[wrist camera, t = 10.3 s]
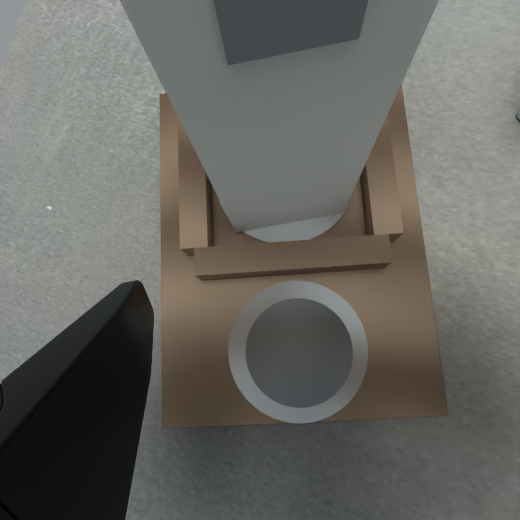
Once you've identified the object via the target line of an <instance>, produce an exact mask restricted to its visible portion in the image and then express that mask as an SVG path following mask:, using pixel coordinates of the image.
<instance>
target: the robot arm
mask: <svg viewBox="0 0 520 520" xmlns="http://www.w3.org/2000/svg"><path fill="white" fill-rule="evenodd" d="M153 327H154V312H153V308H152V305H151V303H150V301H149V298H148V296H147V293H146V291H145V288H144V286H143V284H142V283H141V282H140V281H138V280H136V281H130V282H125V283H122V284H120V285H119V286H118V287H117V288H115V289H114V290H113V291H112V292H110V293H109V294H108V295H107V296H105V297H104V298H103V299H102V300H101V301H99V302H98V303H97V304H96V305H94V306H93V307H92V308H91V309H89V310H88V311H87V312H86V313H85V314H83V315H82V316H81V317H80V318H78V319H77V320H76V321H75V322H73V323H72V324H71V325H70V326H69V327H67V328H66V329H65V330H64V331H62V332H61V333H60V334H59V335H57V336H56V337H55V338H54V339H53V340H51V341H50V342H49V343H48V344H46V345H45V346H44V347H43V348H42V349H40V350H39V351H38V352H37V353H35V354H34V355H33V356H32V357H30V358H29V359H28V360H27V361H26V362H24V363H23V364H22V365H21V366H19V367H18V368H17V369H16V370H14V371H13V372H12V373H11V374H10V375H8V376H7V377H6V378H5V379H3V380H2V382H1V384H0V520H125V517H126V511H127V506H128V500H129V495H130V489H131V483H132V478H133V472H134V467H135V461H136V455H137V450H138V444H139V439H140V433H141V427H142V422H143V416H144V411H145V405H146V399H147V394H148V388H149V382H150V376H151V365H152V346H153Z"/></svg>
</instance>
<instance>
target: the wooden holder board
mask: <svg viewBox="0 0 520 520" xmlns="http://www.w3.org/2000/svg"><path fill="white" fill-rule="evenodd" d="M160 185H161V304H162V422H163V429H168V428H190V427H212V426H234V425H256V424H278V423H310V422H322V421H344V420H365V419H387V418H409V417H431V416H448V410H447V403H446V396H445V388H444V381H443V374H442V367H441V360H440V353H439V346H438V339H437V332H436V325H435V318H434V311H433V304H432V297H431V290H430V283H429V276H428V268H427V261H426V254H425V247H424V240H423V233H422V226H421V219H420V212H419V205H418V198H417V191H416V184H415V177H414V170H413V163H412V156H411V148H410V141H409V134H408V127H407V120H406V113H405V106H404V99H403V92H402V85H400V88H399V90H398V92H397V94H396V97H395V99H394V101H393V103H392V105H391V108H390V110H389V112H388V114H387V117H386V119H385V121H384V123H383V126H382V128H381V130H380V132H379V135H378V137H377V139H376V141H375V143H374V146H373V148H372V150H371V152H370V155H369V157H368V159H367V161H366V164H365V166H364V168H363V170H362V172H361V175H360V177H359V179H358V181H357V184H356V186H355V188H354V190H353V193H352V195H351V197H350V199H349V202H348V204H347V206H346V208H345V210H344V213H339V214H334V215H329V216H323V217H318V218H313V219H307V220H302V221H297V222H292V223H286V224H281V225H276V226H270V227H265V228H260V229H254V230H249V231H244V232H238V233H236V232H235V230H234V228H233V226H232V224H231V222H230V220H229V218H228V216H227V214H226V212H225V210H224V208H223V206H222V204H221V202H220V200H219V198H218V196H217V194H216V192H215V190H214V188H213V186H212V184H211V182H210V180H209V178H208V176H207V174H206V172H205V170H204V168H203V166H202V164H201V162H200V160H199V158H198V156H197V154H196V152H195V150H194V148H193V146H192V144H191V142H190V140H189V138H188V136H187V134H186V132H185V130H184V128H183V126H182V124H181V122H180V120H179V118H178V116H177V114H176V112H175V110H174V108H173V106H172V104H171V102H170V100H169V98H168V96H167V94H160Z"/></svg>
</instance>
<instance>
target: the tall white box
mask: <svg viewBox="0 0 520 520" xmlns="http://www.w3.org/2000/svg"><path fill="white" fill-rule="evenodd" d="M120 1H121V3H122V5H123V7H124V9H125V11H126V13H127V15H128V17H129V19H130V21H131V23H132V25H133V27H134V29H135V31H136V33H137V35H138V37H139V39H140V41H141V43H142V45H143V47H144V49H145V51H146V53H147V55H148V57H149V59H150V61H151V63H152V65H153V67H154V69H155V71H156V73H157V75H158V77H159V79H160V81H161V83H162V85H163V88H164V90H165V92H166V94H167V96H168V98H169V100H170V102H171V104H172V106H173V108H174V110H175V112H176V114H177V116H178V118H179V120H180V122H181V124H182V126H183V128H184V130H185V132H186V134H187V136H188V138H189V140H190V142H191V144H192V146H193V148H194V150H195V152H196V154H197V156H198V158H199V160H200V162H201V164H202V166H203V168H204V170H205V172H206V174H207V176H208V178H209V180H210V182H211V184H212V186H213V188H214V190H215V192H216V194H217V196H218V198H219V200H220V202H221V204H222V206H223V208H224V210H225V212H226V214H227V216H228V218H229V220H230V222H231V224H232V226H233V228H234V230H235V232H236V233H238V232H244V231H249V230H254V229H260V228H265V227H270V226H276V225H281V224H286V223H292V222H297V221H302V220H307V219H313V218H318V217H323V216H329V215H334V214H339V213H344V210H345V208H346V206H347V204H348V202H349V199H350V197H351V195H352V193H353V190H354V188H355V186H356V184H357V181H358V179H359V177H360V175H361V172H362V170H363V168H364V166H365V164H366V161H367V159H368V157H369V155H370V152H371V150H372V148H373V146H374V143H375V141H376V139H377V137H378V135H379V132H380V130H381V128H382V126H383V123H384V121H385V119H386V117H387V114H388V112H389V110H390V108H391V105H392V103H393V101H394V99H395V97H396V94H397V92H398V90H399V88H400V85H401V83H402V81H403V79H404V76H405V74H406V72H407V70H408V68H409V65H410V63H411V61H412V59H413V56H414V54H415V52H416V50H417V47H418V45H419V43H420V41H421V38H422V36H423V34H424V32H425V30H426V27H427V25H428V23H429V21H430V18H431V16H432V14H433V12H434V9H435V7H436V5H437V3H438V0H120Z"/></svg>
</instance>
